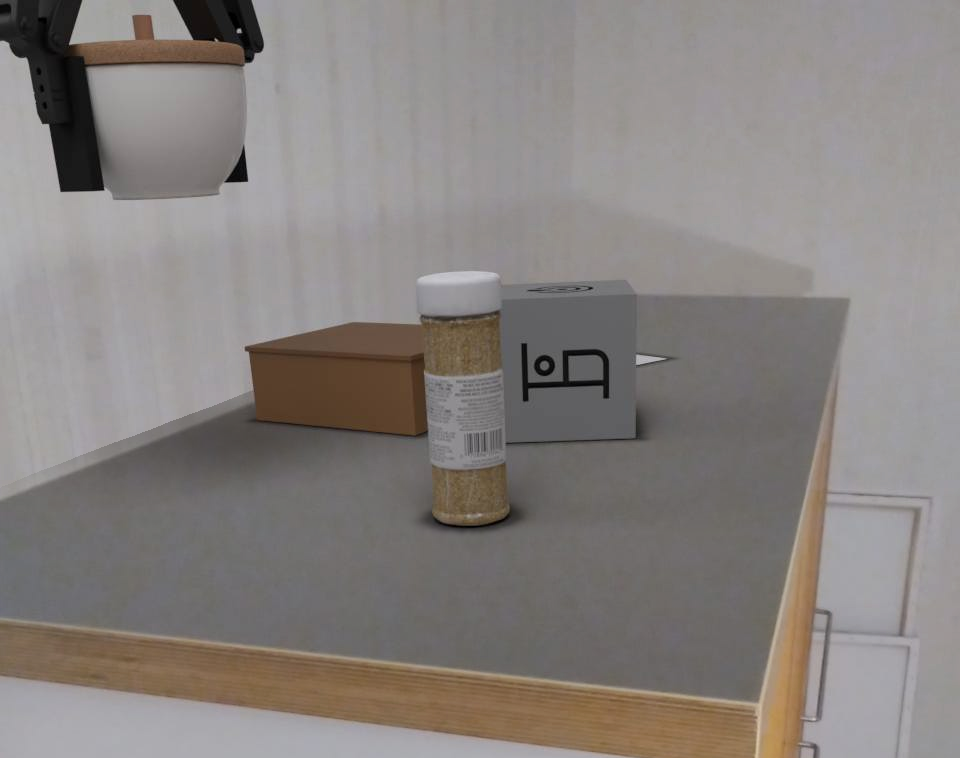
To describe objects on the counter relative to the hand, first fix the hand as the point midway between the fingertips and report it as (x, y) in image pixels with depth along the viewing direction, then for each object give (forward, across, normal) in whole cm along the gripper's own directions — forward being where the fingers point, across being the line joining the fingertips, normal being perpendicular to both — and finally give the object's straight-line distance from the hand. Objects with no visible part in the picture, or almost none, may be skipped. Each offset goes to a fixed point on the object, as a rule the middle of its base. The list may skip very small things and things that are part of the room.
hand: (160, 186), depth 66 cm
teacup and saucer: (+19, +49, +4) cm, 53 cm away
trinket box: (+1, 0, 0) cm, 1 cm away
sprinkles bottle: (+18, +2, -20) cm, 27 cm away
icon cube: (+18, +25, -14) cm, 34 cm away
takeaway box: (+18, +25, +4) cm, 31 cm away
